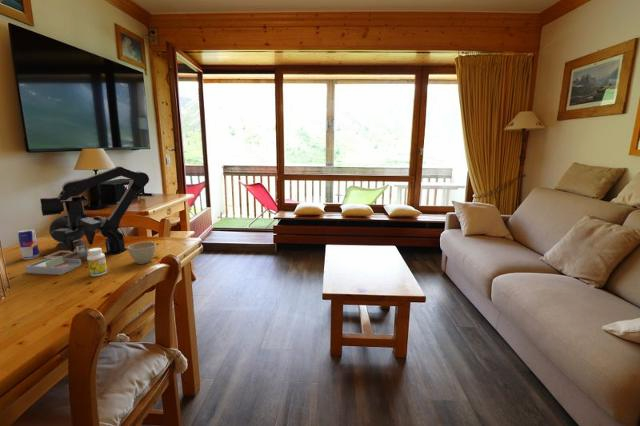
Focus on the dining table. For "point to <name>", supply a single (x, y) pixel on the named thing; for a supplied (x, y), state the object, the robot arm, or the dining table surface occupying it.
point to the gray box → (56, 270)
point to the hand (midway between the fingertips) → (82, 248)
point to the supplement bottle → (96, 262)
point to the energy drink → (28, 244)
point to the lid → (52, 262)
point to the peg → (82, 251)
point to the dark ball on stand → (62, 223)
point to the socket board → (63, 255)
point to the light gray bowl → (142, 252)
